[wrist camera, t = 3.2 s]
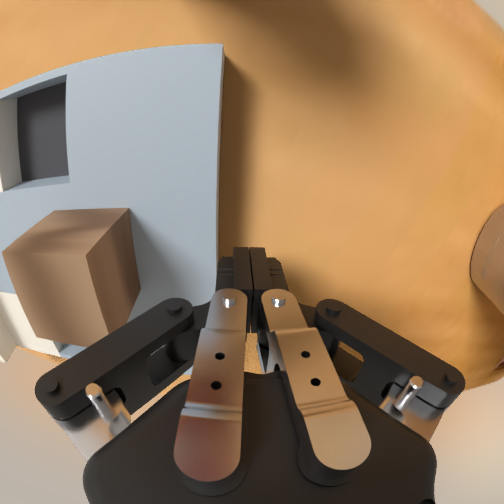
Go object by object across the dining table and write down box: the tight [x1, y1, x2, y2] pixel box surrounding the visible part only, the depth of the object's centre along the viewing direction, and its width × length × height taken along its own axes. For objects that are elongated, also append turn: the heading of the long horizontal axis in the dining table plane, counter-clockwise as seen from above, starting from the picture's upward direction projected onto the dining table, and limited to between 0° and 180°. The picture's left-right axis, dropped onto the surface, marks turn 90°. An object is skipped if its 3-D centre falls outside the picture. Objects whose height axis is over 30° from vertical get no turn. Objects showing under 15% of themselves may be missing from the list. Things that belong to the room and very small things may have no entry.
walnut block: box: [2, 208, 141, 347], centre depth 12 cm, size 5×5×5 cm
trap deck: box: [0, 44, 225, 375], centre depth 15 cm, size 21×21×2 cm
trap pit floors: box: [17, 82, 69, 182], centre depth 16 cm, size 6×20×1 cm, turn 177°
